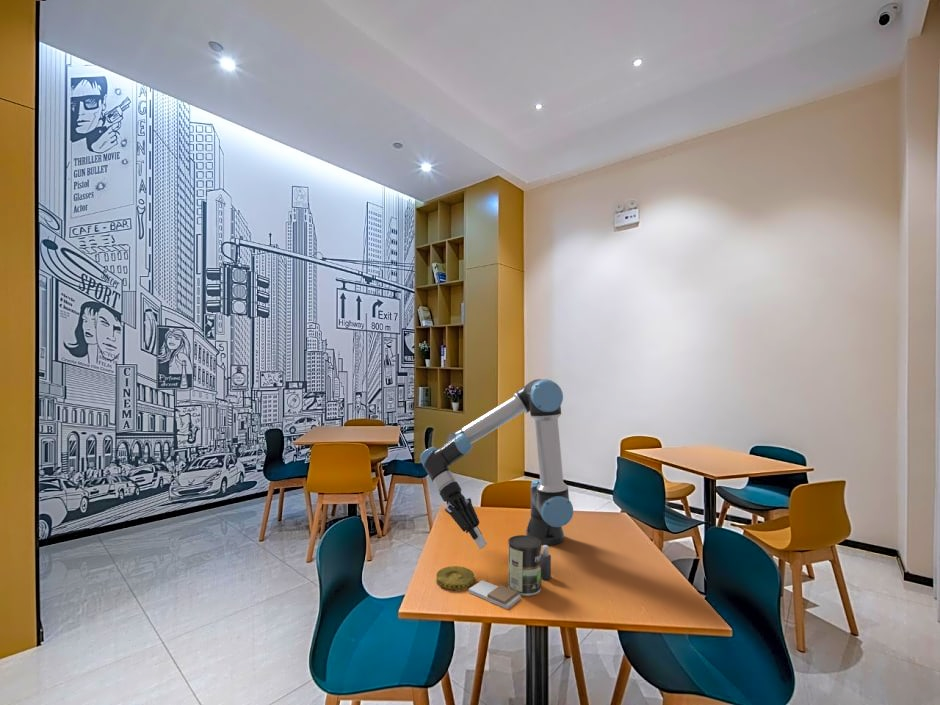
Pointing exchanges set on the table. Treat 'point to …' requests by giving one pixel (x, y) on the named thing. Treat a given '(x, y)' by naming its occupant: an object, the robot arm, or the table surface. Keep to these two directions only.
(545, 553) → the grey white-capped bottle
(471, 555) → the table surface
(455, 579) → the olive gold disc
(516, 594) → the white and brown box
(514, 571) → the coffee can
